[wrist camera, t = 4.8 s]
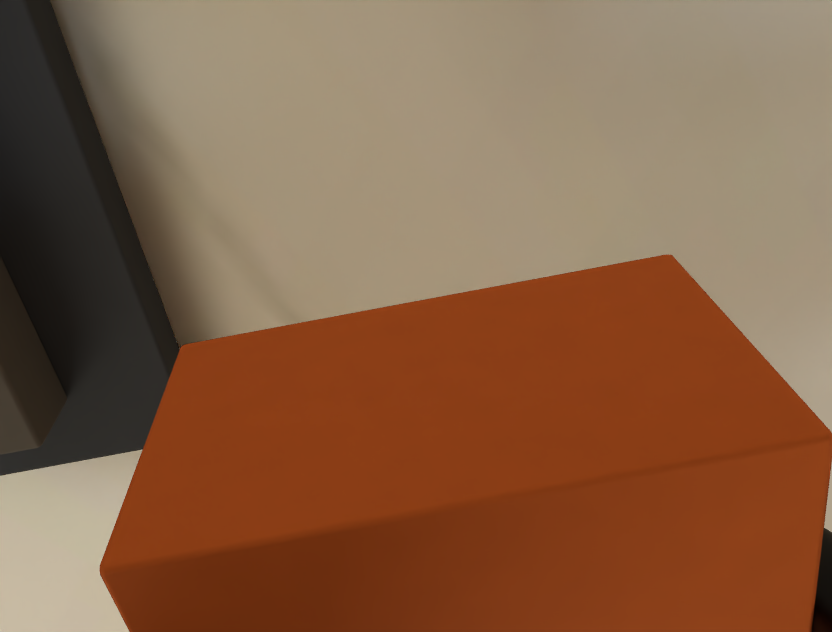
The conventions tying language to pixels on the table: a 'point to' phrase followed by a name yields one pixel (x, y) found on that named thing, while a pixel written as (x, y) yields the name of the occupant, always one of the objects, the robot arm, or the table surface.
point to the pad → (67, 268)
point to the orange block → (481, 471)
